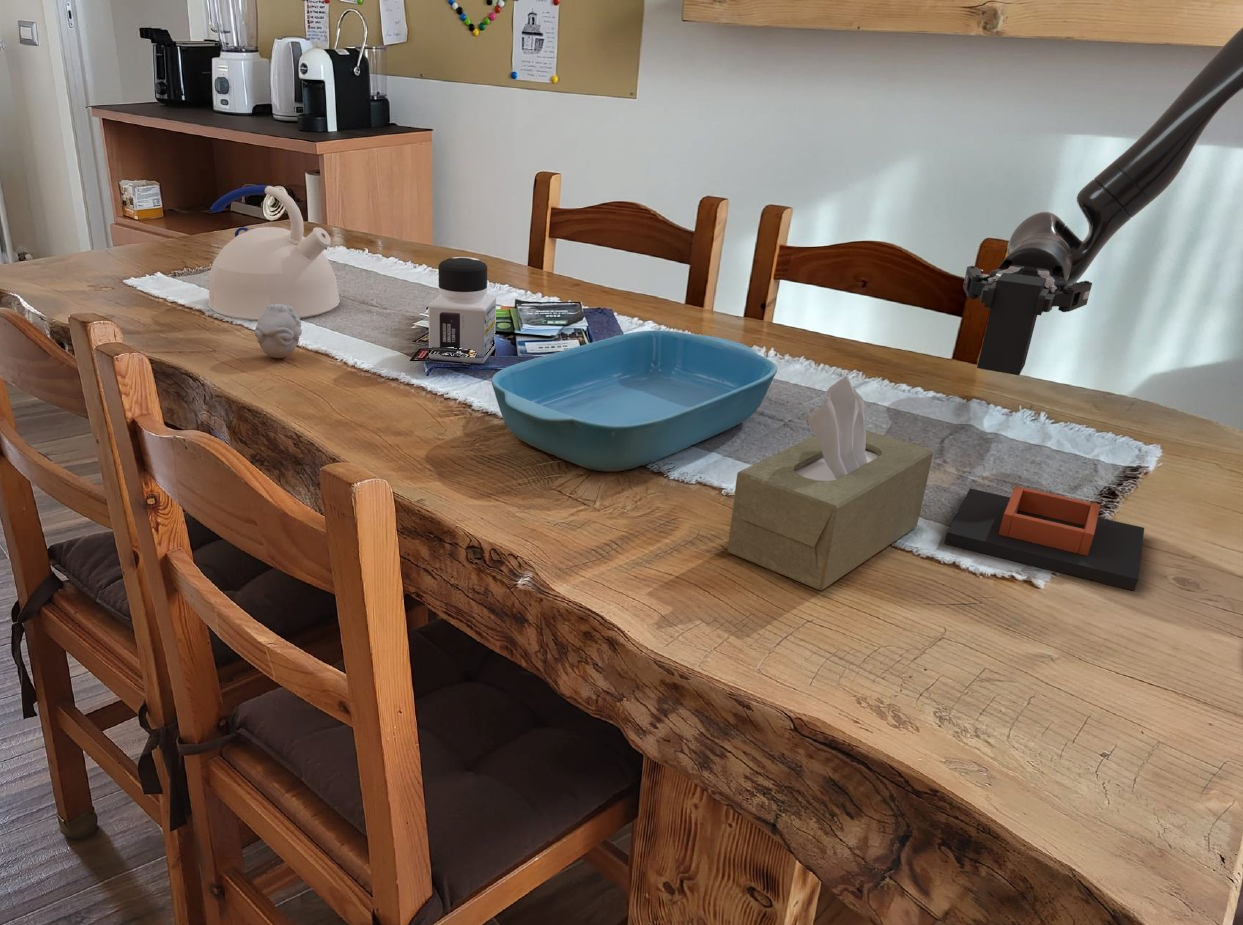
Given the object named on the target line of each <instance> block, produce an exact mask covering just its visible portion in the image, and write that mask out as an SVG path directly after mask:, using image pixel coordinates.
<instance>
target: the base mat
mask: <svg viewBox="0 0 1243 925" xmlns="http://www.w3.org/2000/svg"><path fill="white" fill-rule="evenodd" d="M1100 510H1101V504H1100V503H1096V502H1091V501H1086V500H1082V499H1078V498H1073V497H1069V496H1063V495H1060V494H1054V493H1050V492H1046V491H1041V490H1036V489H1032V488H1028V487H1023V486H1019V485H1015V486H1014V488H1013V491H1012V493H1011V495H1010V496H1005V495H1001V494H997V493H994V492H989V491H984V490H979V489H975V488H969V489H968V491H967V493H966V494H965V496H964V499H963V501H962V502H961V504H960V507H959V508H958V511H957V513H956V514H955V516H954V518H953V520H952V522H951V524H950V526H949V528H948V529H947V532H946V536H945V540H944V544H945V545H949V546H953V547H957V548H962V549H965V550H969V551H973V552H977V553H981V554H985V555H989V556H992V557H996V558H1000V559H1001V558H1002V559H1005V560H1009V561H1013V562H1017V563H1020V564H1025V565H1028V566H1033V567H1037V568H1041V569H1046V570H1049V571H1053V572H1056V573H1061V574H1065V575H1068V576H1073V577H1076V578H1077V577H1078V578H1081V579H1085V580H1088V581H1094V582H1096V583H1101V584H1104V585H1108V586H1109V585H1110V586H1113V587H1117V588H1120V589H1125V590H1128V591H1132V592H1134V591H1135V590H1136V587H1137V584H1138V582H1139V575H1140V569H1141V568H1140V567H1141V559H1142V551H1143V543H1144V534H1145V527H1143V526H1139V525H1134V524H1130V523H1126V522H1121V521H1117V520H1112V519H1108V518H1105V517H1103V518H1102V517H1099V514H1100Z"/></svg>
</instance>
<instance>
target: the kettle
mask: <svg viewBox="0 0 1243 925" xmlns="http://www.w3.org/2000/svg"><path fill="white" fill-rule="evenodd" d="M252 195H269V196H271V197H274V198H275V199H276V200H277V201H278V202H280V203H281V204H282V206H283V207H284V208H285V210H286V213H287V214H288V217H289V218H288V219H289V221H290V229H287V228H283V227H277V226H261V227H255V228H253V229H249V228H247V227H245V226H242V227H238V228H237V229H236V230H235V232H234V238H233V239H232V240H230V241H229V242H228V243H227V244H225V245H224V246H223V247H222V248H221V250H220V251H219V252H218V254H217V256H216V257H215V259H214V260H213V262H212V265H211V269H210V272H209V275H208V308H210V309H211V310H212V311H213V312H214V313H216V314H218V315H221V316H224V317H227V318H233V319H237V320H245V321H254V322H258V319H259V318H260V317H261V316H262V315H263V313H264V312H265V311H266V310H267V306H268V305H272V304H284V305H286V306H292V307H293V309H294V312H295V313H296V314H297V316H298V317H299V319H300V320H302V319H307V318H312V317H317V316H321V315H325V314H327V313H329V312H331V311H333V310H334V309H336V308H337V307H338V306H339V304H340V302H341V300H340V297H339V296H340V294H339V289H338V288H339V287H338V280H337V276H336V273H335V271H334V270H333V267H332V265H331V263H330V261H329V259H328V257H327V256H326V254H324V251H325V249H326V248H328V247H330V246H331V243H332V239H331V236H330V235H329V233H328V232H327V231H326V230H325V229H324V228H323V227H314V228H313V229H312V231H311V232H310V233H309V234H308V235H307V236H304V232H305V228H304V227H305V226H304V219H303V216H302V213H301V210H300V207H299V206H298V205H297V203H296V201H294V199H293V197H291V196H290V195H289V194H287V193H286V191H284V190H282V189H280V188H277V187H274V186H272V185H270V184H269V185H268V184H267V185H265V184H263V185H261V184H260V185H259V184H258V185H257V184H256V185H249V186H244V187H243V186H242V187H240V188H237V189H234V190H231V191H229V192H228V193H226V194H224V195H222V196H220V198H218V199H217V200H216V201H215V202H213V204H212V205H211V207H209V209H210V211H211V212H214V213H221V212H222V211H224V210H225V208H226V207H227V206H228V205H229V204H231V203H233V202H234V201H236V200H238V199H242V198H244V197H248V196H252ZM241 231H244V232H242V233H240V232H241Z"/></svg>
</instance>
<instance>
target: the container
mask: <svg viewBox="0 0 1243 925" xmlns="http://www.w3.org/2000/svg"><path fill="white" fill-rule="evenodd" d="M437 267H438V271H437V272H438V293H439V294H438V295H437V297H435V298H434V299H433V300H432V301H431V302H430V303H429V304H428V309H427V310H428V311H427V312H428V349H429V348H432V347H454V348H457V349H459V348H462V349H471V350H473V351H475V352H477V353H478V354H482V355H484V354H486V353H487V352H488V351H489V349H490V348H491V346H492V344H493V340H494V335H495V336H496V334H495V333H497V332H496V309H497V296H496V295H495V294H490V293H489V294H488V264H486V262H485V261H482V260H480V259H479V258H475V257H469V256H455V257H449V258H446V259H444V260H441V261H440V263H439V264H438V266H437ZM495 349H496V343H495V344H494V346H493V347H492V348H491V350H490V351H489V352H488V353H487V355H486V356H485V357H484V358H474V357H463V356H451V355H440V354H430V353H429V352H428V358H429V359H430V360H435V361H436V360H437V361H446V362H457V363H468V364H480V365H484V363H485V362H486V361H487V359H488V358H489V357H490V355H491V354H492V353H493V351H495Z"/></svg>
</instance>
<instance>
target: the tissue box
mask: <svg viewBox="0 0 1243 925" xmlns="http://www.w3.org/2000/svg"><path fill="white" fill-rule="evenodd" d="M823 397H824V399H825V401H826V402H825V403H824V404H822V405H821V406H820V407H819V408H817V409H816V410H815V411H813V412H811V413H810V414H808V415H807V416H806V419H807V423H808V425H809V427H810V429H811V431H812V432H813V434H814V435H813V436H810V437H809V438H806V439H804V440H802V441H799V442H798V443H796V444H793V445H791V446H789V447H787V448H785V449H783V450H781V451H779V452H777V453H775V454H772V455H771V456H768V457H766V458H765V459H763V460H760V461H758V462H756V463H754V464H752V465H749V466H748V467H746V468H744V469H741V470H740V471H738V472H737V474H736V480H735V486H734V487H735V489H734V495H733V504H732V510H731V511H732V512H731V519H730V527H729V534H728V542H727V553H729V554H731V555H733V556H736V557H738V558H741V559H742V560H745V561H748V562H750V563H753V564H755V565H758V566H760V567H762V568H765V569H766V570H770V571H772V572H774V573H777V574H779V575H781V576H784V577H786V578H788V579H790V580H793V581H797V582H799V583H801V584H803V585H806V586H808V587H810V588H813V589H815V590H818V591H823V590H824V589H826V588H827V587H829V586H831V585H832V584H833V583H834V582H837V581H838V580H839V579H841V578H842V577H844V576H845V575H848V573H849V572H851V571H852V570H854V569H856V568H857V567H858V566H860V565H861V564H863V563H864V562H866V561H867V560H869V559H870V558H872V557H873V556H875V555H876V554H878V553H879V552H881V551H882V550H884V549H885V548H887V547H888V546H890V545H891V544H893V543H894V542H895V541H897V540H899V539H900V538H901V537H903V536H904V535H906V534H907V533H909V532H910V531H912V530H914V529H915V528H916V527H917V526H918V523H919V519H920V514H921V510H922V507H923V506H922V505H923V503H924V502H923V501H924V497H925V493H926V488H927V483H928V478H929V474H930V471H931V470H930V469H931V465H932V461H933V456H934V451H933V450H932V449H931V448H927V447H924V446H921V445H917V444H914V443H910V442H908V441H907V442H906V441H904V440H900V439H897V438H894V437H890V436H887V435H885V434H881V433H877V432H874V431H871V430H867V429H866V420H865V418H866V417H865V400H864V398H863V396H861V395H860V393H859V392H858V391H857V390H856V389H855V387H853V384H852V382H851V380H850V377H849V375H848V374H847V375H845V376H844V377H842V378H841V379H839V380H837V381H836V382H835V383H833V384H832V385H831V386H830V387H828V389H827V391H826V392H825V394H824V395H823Z"/></svg>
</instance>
